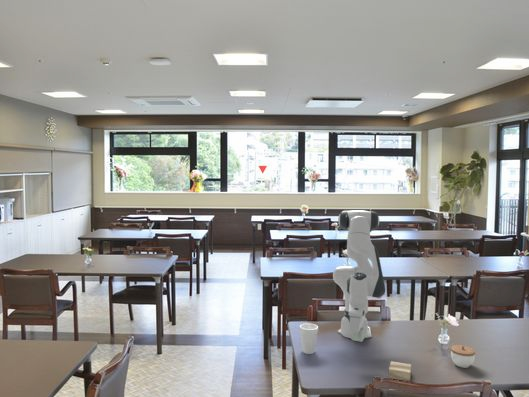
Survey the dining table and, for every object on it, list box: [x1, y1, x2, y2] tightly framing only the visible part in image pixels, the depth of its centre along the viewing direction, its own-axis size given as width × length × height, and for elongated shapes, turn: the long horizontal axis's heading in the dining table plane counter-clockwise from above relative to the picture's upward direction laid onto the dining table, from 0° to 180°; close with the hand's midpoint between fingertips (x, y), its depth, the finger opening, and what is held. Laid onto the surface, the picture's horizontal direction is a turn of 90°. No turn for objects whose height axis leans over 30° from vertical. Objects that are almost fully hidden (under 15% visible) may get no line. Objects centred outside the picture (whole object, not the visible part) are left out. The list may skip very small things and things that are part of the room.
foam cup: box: [299, 322, 319, 355], centre depth 223 cm, size 10×9×13 cm
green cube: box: [351, 327, 365, 342], centre depth 208 cm, size 5×5×5 cm
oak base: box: [388, 360, 412, 382], centre depth 197 cm, size 9×9×4 cm
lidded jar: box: [450, 344, 476, 369], centre depth 209 cm, size 11×11×9 cm
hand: (357, 335), depth 208 cm, fingers closed on green cube, 5 cm apart
